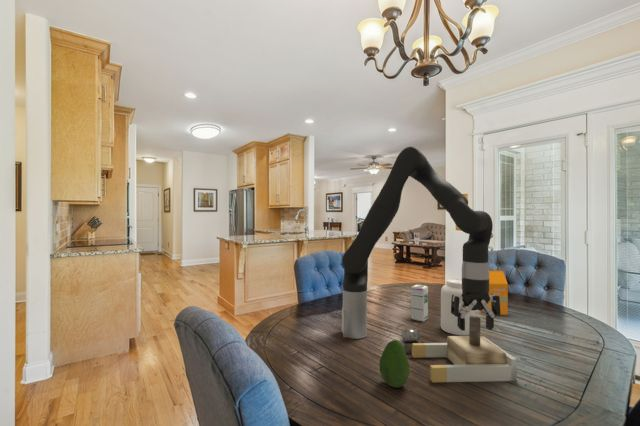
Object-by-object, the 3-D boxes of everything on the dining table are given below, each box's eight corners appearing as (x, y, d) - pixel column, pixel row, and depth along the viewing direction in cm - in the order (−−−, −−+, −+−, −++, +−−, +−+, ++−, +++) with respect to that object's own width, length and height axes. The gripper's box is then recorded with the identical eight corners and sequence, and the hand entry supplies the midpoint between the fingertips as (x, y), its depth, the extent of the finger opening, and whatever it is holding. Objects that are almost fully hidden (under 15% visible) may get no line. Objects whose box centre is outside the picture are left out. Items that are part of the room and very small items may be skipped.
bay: (432, 382, 84) (432, 360, 84) (411, 355, 100) (412, 337, 100) (516, 380, 85) (516, 359, 85) (483, 354, 101) (483, 336, 101)
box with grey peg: (467, 378, 86) (467, 324, 87) (447, 357, 99) (447, 311, 99) (505, 377, 87) (505, 324, 87) (480, 357, 99) (481, 311, 99)
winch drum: (403, 352, 102) (404, 331, 102) (400, 347, 106) (400, 327, 106) (421, 352, 102) (421, 331, 102) (417, 347, 106) (417, 327, 106)
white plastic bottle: (479, 338, 115) (479, 284, 115) (443, 335, 117) (444, 283, 117) (469, 326, 127) (470, 278, 127) (438, 323, 130) (438, 276, 130)
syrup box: (424, 321, 132) (424, 288, 132) (410, 319, 135) (411, 286, 135) (428, 318, 136) (428, 285, 136) (415, 315, 140) (415, 283, 140)
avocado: (404, 377, 87) (404, 335, 87) (413, 393, 79) (413, 347, 79) (376, 377, 86) (376, 335, 86) (382, 394, 78) (383, 347, 78)
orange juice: (507, 315, 142) (508, 272, 142) (488, 314, 142) (488, 271, 142) (498, 309, 150) (498, 269, 150) (480, 309, 150) (480, 268, 150)
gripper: (490, 273, 97) (490, 324, 97) (446, 274, 97) (446, 325, 96) (505, 278, 90) (506, 333, 90) (458, 279, 89) (459, 334, 89)
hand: (475, 329), depth 93 cm, fingers open, 8 cm apart
